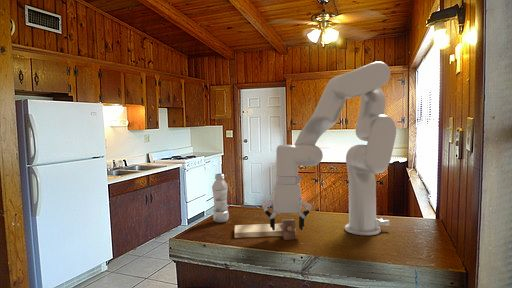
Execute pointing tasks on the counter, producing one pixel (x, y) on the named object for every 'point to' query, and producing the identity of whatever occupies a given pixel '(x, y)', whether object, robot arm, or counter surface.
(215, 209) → the plastic bottle
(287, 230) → the brown handled block
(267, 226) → the board
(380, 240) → the counter surface
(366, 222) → the robot arm
